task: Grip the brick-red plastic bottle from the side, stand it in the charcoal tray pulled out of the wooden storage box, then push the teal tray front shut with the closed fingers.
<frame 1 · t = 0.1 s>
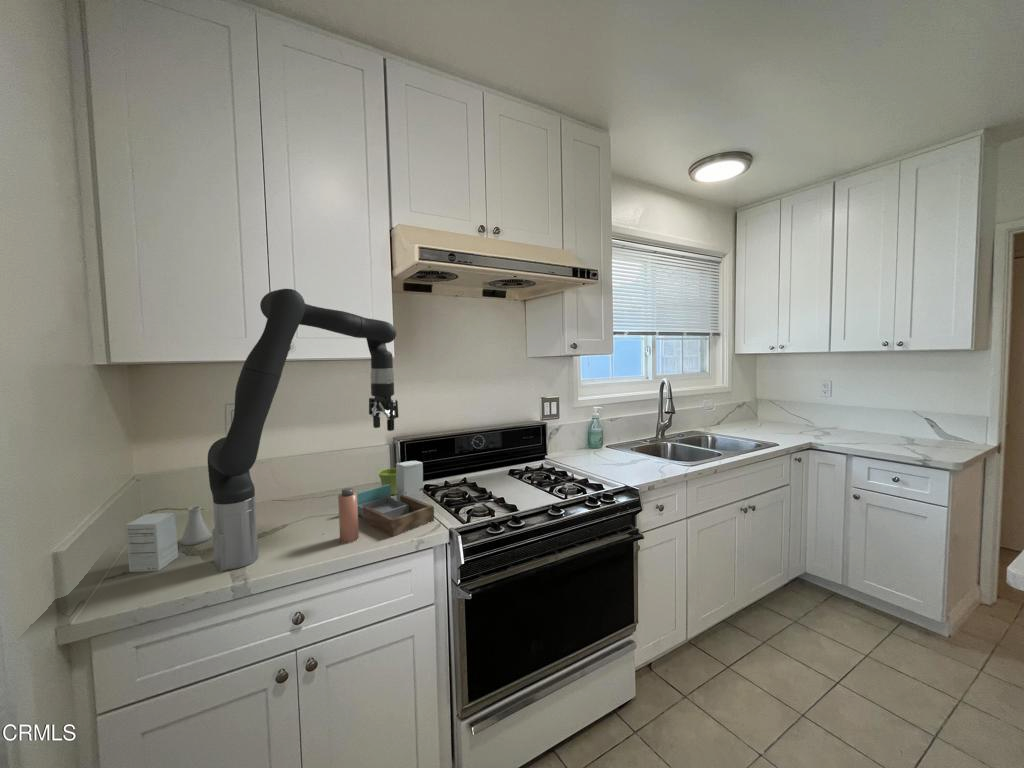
hand: (383, 429, 143), 29 cm above the worktop, tool pointing down, fingers open, 8 cm apart
bottle: (349, 539, 125), on the worktop
wooden storage box: (396, 520, 138), on the worktop
skincare box: (410, 502, 155), on the worktop
tray: (381, 503, 144), point 4 cm above the worktop, slide at 8.0 cm
supplement box: (154, 565, 111), on the worktop
flask: (196, 541, 125), on the worktop
plant pot: (391, 493, 165), on the worktop
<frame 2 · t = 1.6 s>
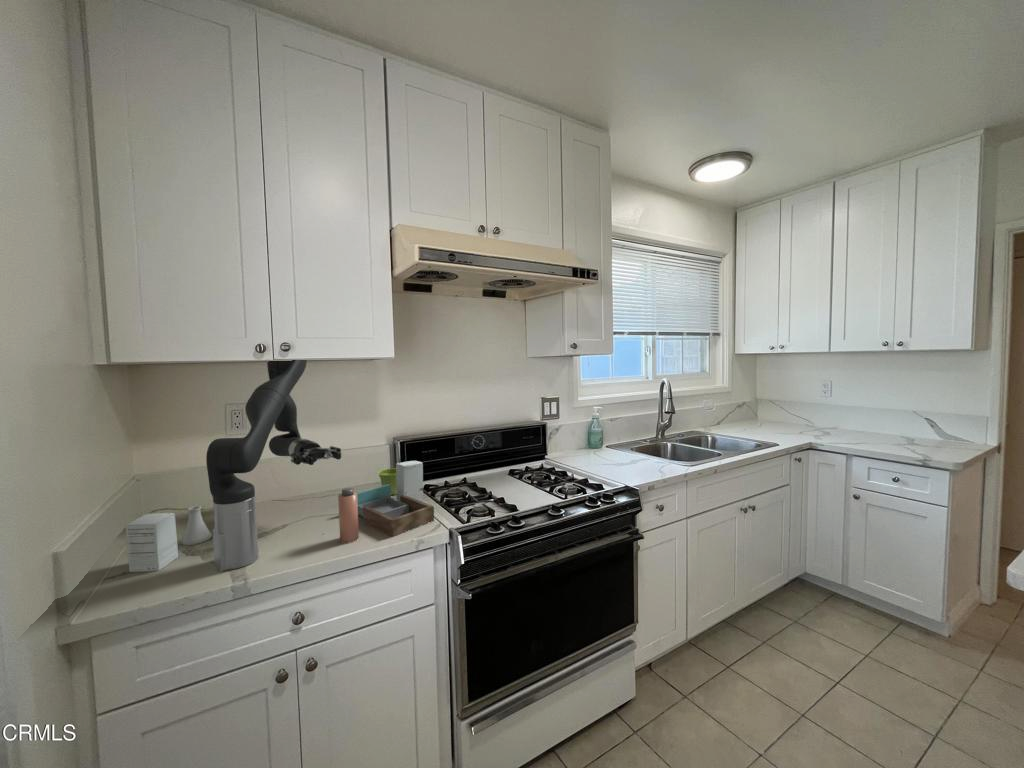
hand: (326, 458, 132), 22 cm above the worktop, tool horizontal, fingers open, 8 cm apart
nothing on the worktop moved.
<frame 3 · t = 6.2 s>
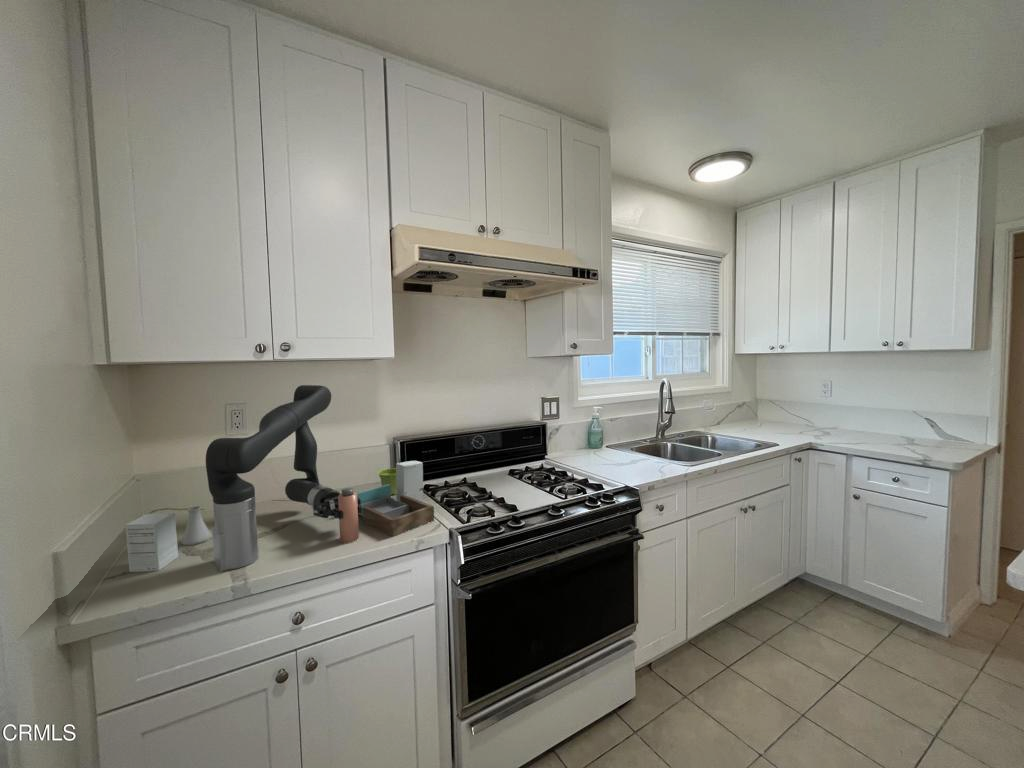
hand: (351, 512, 123), 9 cm above the worktop, tool horizontal, fingers closed on bottle, 5 cm apart
bottle: (349, 539, 125), on the worktop, touching gripper
everything else where it was.
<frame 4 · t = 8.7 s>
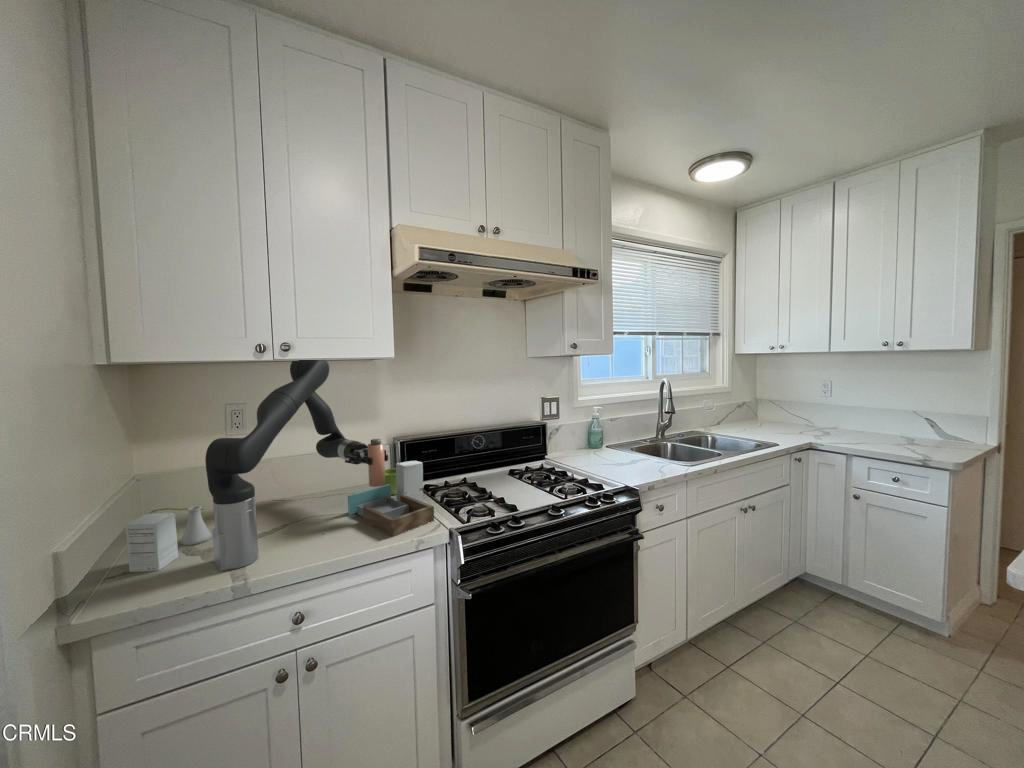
hand: (379, 459, 138), 20 cm above the worktop, tool horizontal, fingers closed on bottle, 5 cm apart
bottle: (377, 484, 140), point 12 cm above the worktop, touching gripper
everything else where it was.
when the fingers open (12 cm above the worktop, at t = 11.4 s): bottle drops 2 cm, resting on tray.
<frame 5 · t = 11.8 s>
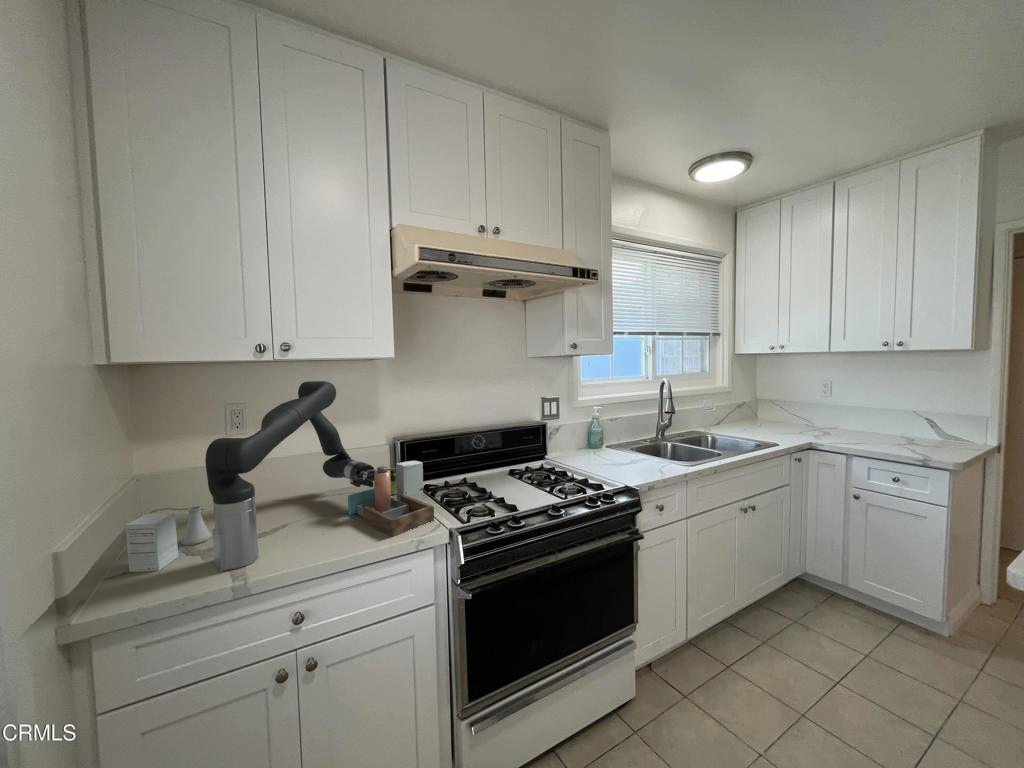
hand: (383, 481, 142), 12 cm above the worktop, tool horizontal, fingers open, 8 cm apart
bottle: (383, 510, 144), point 1 cm above the worktop, touching tray
tray: (381, 503, 144), point 4 cm above the worktop, slide at 8.0 cm, touching bottle
everything else where it was.
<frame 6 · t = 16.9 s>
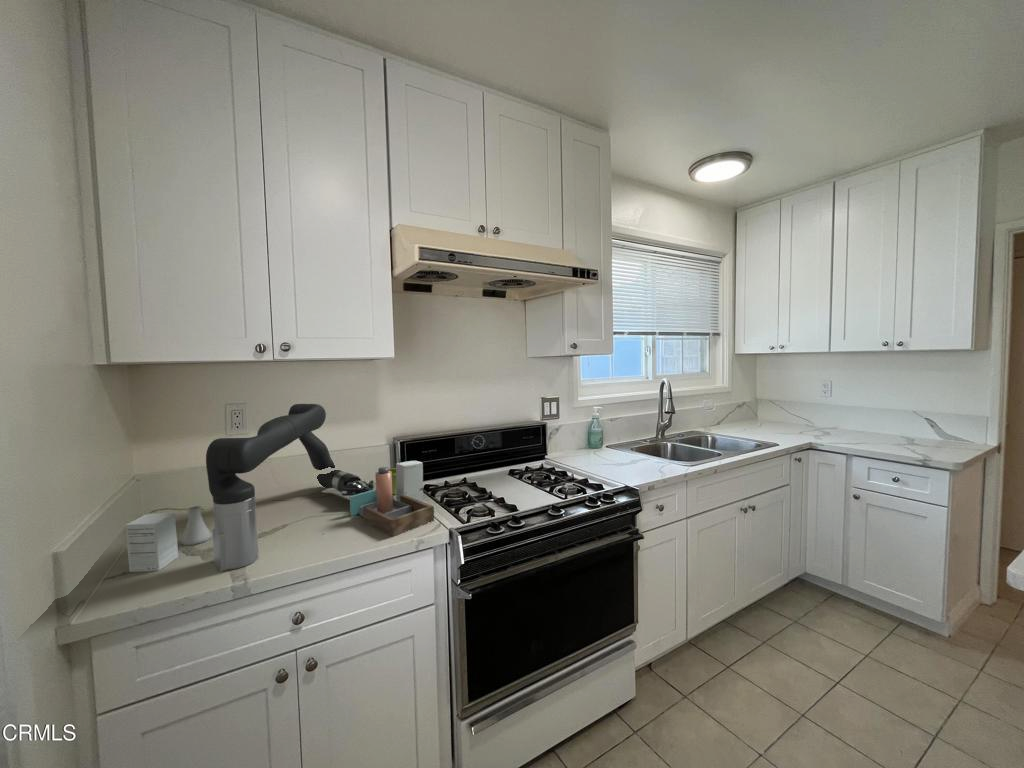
hand: (371, 492, 148), 6 cm above the worktop, tool horizontal, fingers closed
bottle: (385, 511, 143), point 1 cm above the worktop, touching tray
tray: (383, 504, 143), point 4 cm above the worktop, slide at 6.6 cm, touching bottle, gripper
everything else where it was.
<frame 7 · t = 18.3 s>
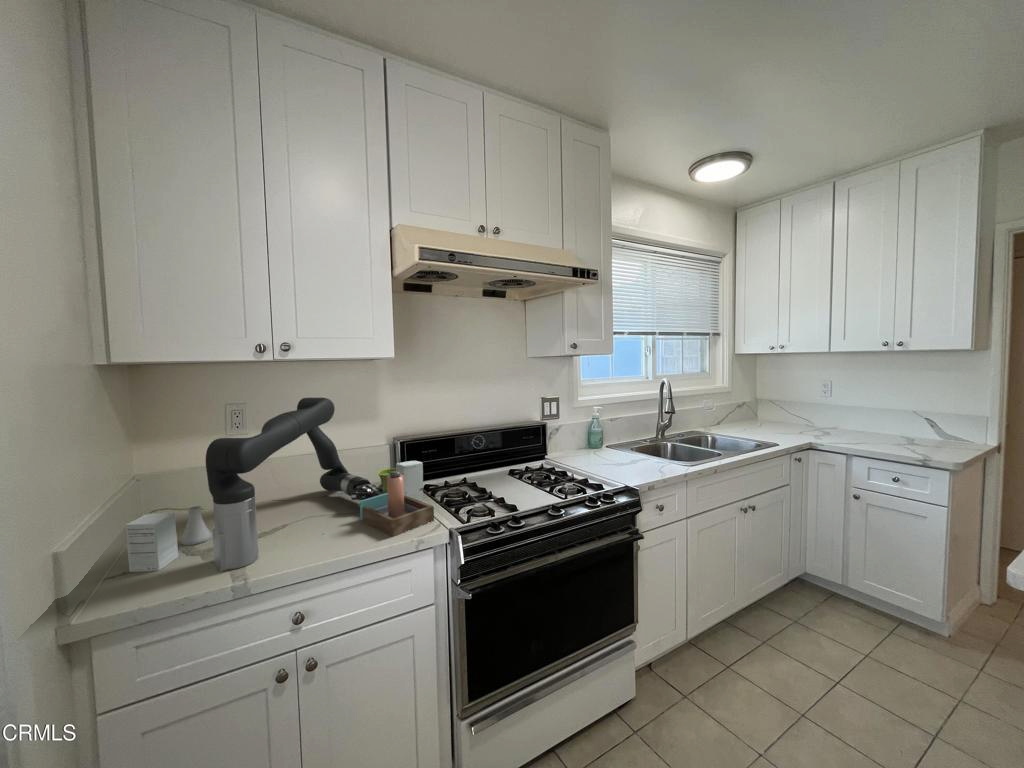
hand: (381, 497, 144), 6 cm above the worktop, tool horizontal, fingers closed
bottle: (396, 516, 138), point 1 cm above the worktop, touching tray
tray: (394, 509, 139), point 4 cm above the worktop, slide at 0.0 cm, touching bottle, gripper
everything else where it was.
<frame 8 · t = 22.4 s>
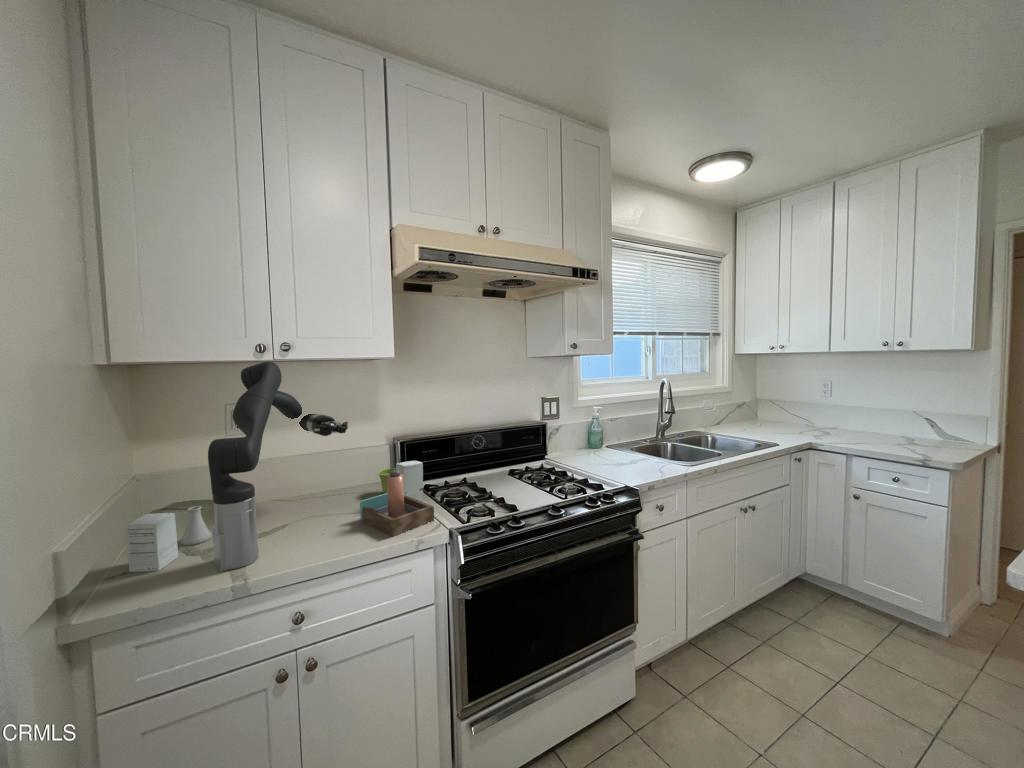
hand: (343, 430, 148), 28 cm above the worktop, tool horizontal, fingers closed
tray: (394, 509, 139), point 4 cm above the worktop, slide at 0.0 cm, touching bottle
everything else where it was.
at the end: tray slide at 0.0 cm; bottle inside the target area on the wooden storage box (1.1 cm from its centre), point 1.4 cm above the wooden storage box's base; bottle tilted 2° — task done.
